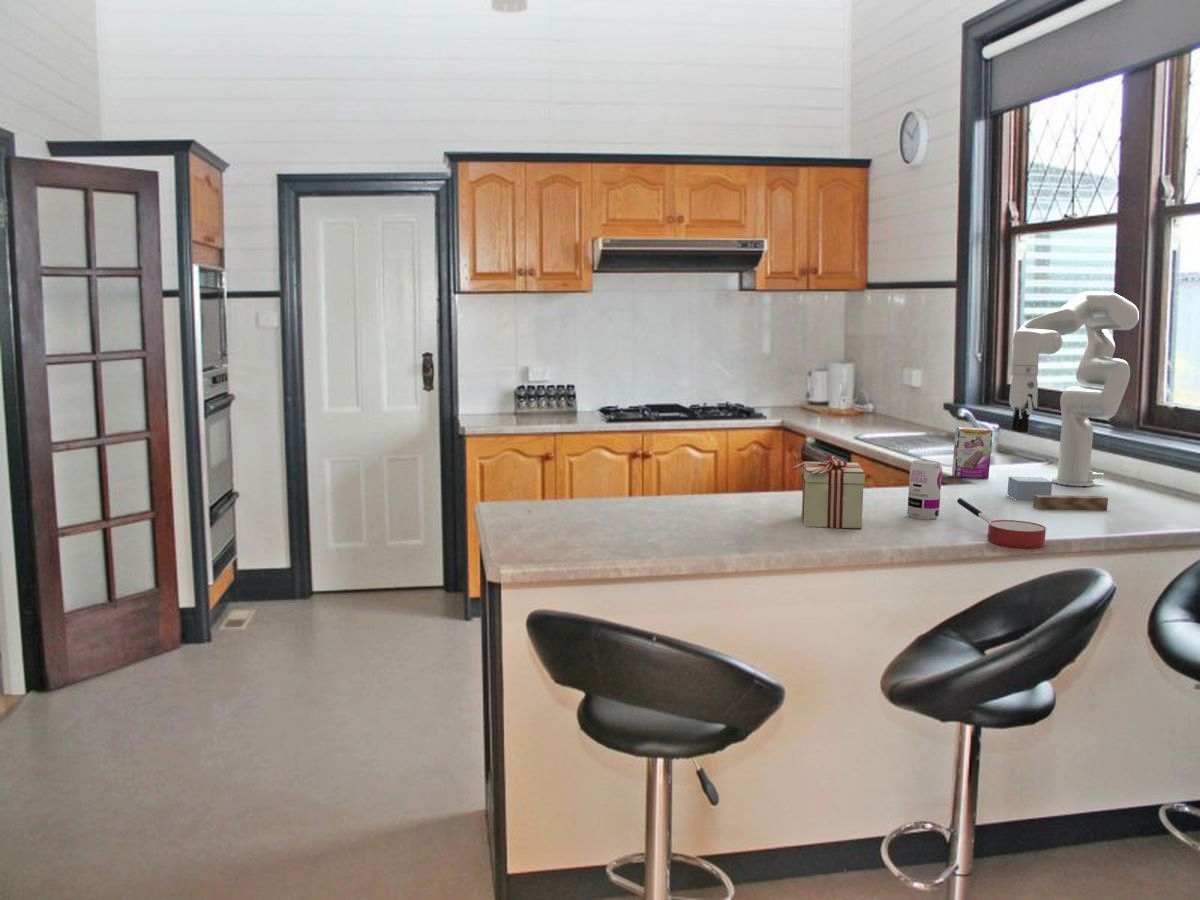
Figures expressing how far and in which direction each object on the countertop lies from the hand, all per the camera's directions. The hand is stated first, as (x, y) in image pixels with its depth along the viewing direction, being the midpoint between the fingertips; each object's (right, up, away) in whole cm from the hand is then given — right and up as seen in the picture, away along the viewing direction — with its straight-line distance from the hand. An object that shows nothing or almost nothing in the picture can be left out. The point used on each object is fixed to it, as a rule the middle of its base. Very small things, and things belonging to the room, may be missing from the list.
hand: (1019, 430), depth 334 cm
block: (0, -21, -7) cm, 22 cm away
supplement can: (-41, -24, -39) cm, 62 cm away
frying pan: (-30, -27, -59) cm, 71 cm away
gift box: (-70, -25, -50) cm, 89 cm away
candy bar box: (-5, -15, +30) cm, 34 cm away
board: (+6, -23, -22) cm, 32 cm away
